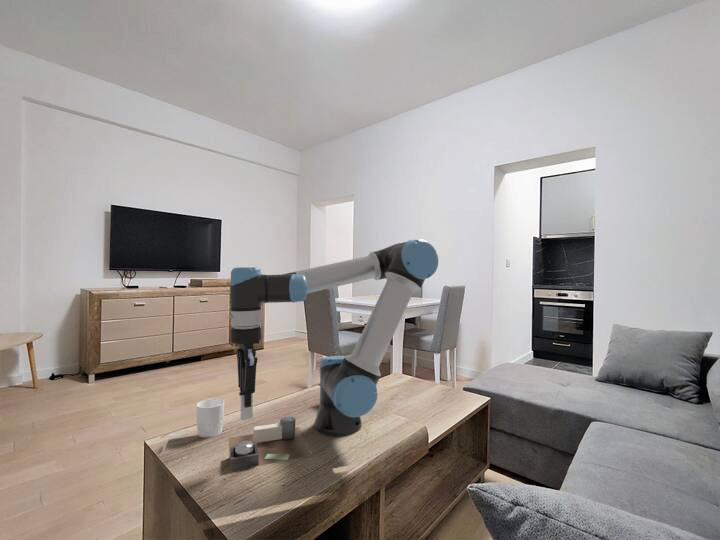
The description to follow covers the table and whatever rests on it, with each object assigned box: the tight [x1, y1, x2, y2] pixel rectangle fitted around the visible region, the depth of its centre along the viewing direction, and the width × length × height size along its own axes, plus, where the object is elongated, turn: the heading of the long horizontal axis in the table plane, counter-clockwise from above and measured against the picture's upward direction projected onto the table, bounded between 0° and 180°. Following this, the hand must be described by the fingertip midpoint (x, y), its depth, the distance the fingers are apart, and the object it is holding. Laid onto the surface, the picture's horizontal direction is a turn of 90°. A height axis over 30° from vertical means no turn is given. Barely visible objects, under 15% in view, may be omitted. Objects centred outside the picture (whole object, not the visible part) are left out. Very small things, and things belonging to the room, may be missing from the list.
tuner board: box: [229, 426, 313, 472], centre depth 95 cm, size 20×18×4 cm
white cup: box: [195, 398, 226, 438], centre depth 103 cm, size 8×8×10 cm
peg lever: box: [253, 416, 296, 443], centre depth 99 cm, size 12×4×5 cm, turn 111°
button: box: [235, 441, 253, 457], centre depth 87 cm, size 4×4×3 cm
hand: (246, 418), depth 87 cm, fingers closed
